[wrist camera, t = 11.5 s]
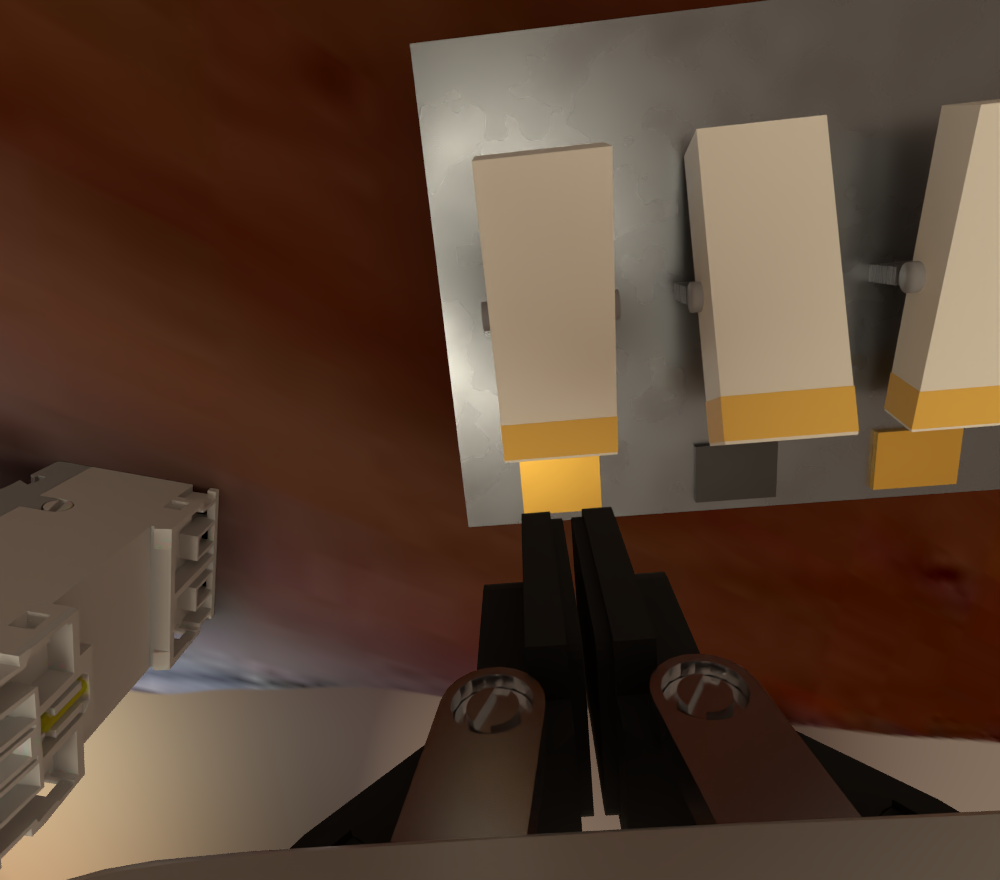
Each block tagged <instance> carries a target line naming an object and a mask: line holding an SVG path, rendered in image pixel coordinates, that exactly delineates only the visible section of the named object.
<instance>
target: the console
mask: <svg viewBox="0 0 1000 880" xmlns="http://www.w3.org/2000/svg"><path fill="white" fill-rule="evenodd" d="M410 49H411V57H412V65H413V74H414V82H415V90H416V98H417V106H418V115H419V123H420V131H421V139H422V148H423V156H424V164H425V172H426V180H427V189H428V197H429V205H430V213H431V221H432V230H433V238H434V246H435V254H436V262H437V271H438V279H439V287H440V295H441V303H442V312H443V320H444V328H445V336H446V345H447V353H448V361H449V369H450V377H451V386H452V394H453V402H454V410H455V418H456V427H457V435H458V443H459V451H460V459H461V468H462V476H463V484H464V492H465V501H466V509H467V517H468V525H469V527H475V526H489V525H503V524H517V523H522V521H521V514H523V513H536V512H549V511H550V515H551V519H557V518H562V520H571V517H582V509H587V508H599V507H612V510H613V512H614V515H615V516H629V515H643V514H657V513H671V512H685V511H699V510H713V509H727V508H741V507H755V506H769V505H783V504H797V503H811V502H825V501H839V500H853V499H867V498H881V497H895V496H909V495H923V494H937V493H951V492H965V491H979V490H993V489H1000V425H996V426H983V427H970V428H958V429H945V430H932V431H919V432H911V431H909V430H908V429H907V428H906V427H904V426H903V425H902V424H901V423H899V422H898V421H897V420H896V419H894V418H893V417H892V416H891V415H890V414H888V413H887V412H886V411H885V408H884V405H885V400H886V394H887V389H888V384H889V378H890V373H891V372H892V367H893V362H894V357H895V351H896V346H897V341H898V335H899V330H900V325H901V320H902V314H903V309H904V304H905V298H906V293H904V292H903V291H902V290H901V288H900V285H899V273H900V270H901V267H902V266H903V264H904V263H906V262H912V261H913V256H914V251H915V245H916V240H917V235H918V229H919V224H920V219H921V214H922V208H923V203H924V198H925V192H926V187H927V182H928V176H929V171H930V166H931V161H932V155H933V150H934V145H935V139H936V134H937V129H938V123H939V118H940V113H941V108H942V105H950V104H959V103H968V102H977V101H987V100H996V99H1000V0H768V1H760V2H751V3H743V4H735V5H727V6H718V7H710V8H702V9H693V10H685V11H677V12H669V13H660V14H652V15H644V16H636V17H627V18H619V19H611V20H603V21H594V22H586V23H578V24H569V25H561V26H553V27H545V28H536V29H528V30H520V31H512V32H503V33H495V34H487V35H479V36H470V37H462V38H454V39H446V40H437V41H429V42H421V43H412V44H410ZM820 115H827V122H828V132H829V142H830V152H831V162H832V173H833V183H834V193H835V203H836V213H837V223H838V233H839V243H840V253H841V264H842V274H843V284H844V294H845V304H846V314H847V324H848V334H849V344H850V355H851V365H852V375H853V385H854V386H855V395H856V405H857V415H858V425H859V431H858V435H846V436H835V437H822V438H809V439H796V440H783V441H770V442H758V443H745V444H732V445H719V446H710V443H709V437H708V426H707V415H706V404H705V402H706V395H705V384H704V373H703V362H702V351H701V340H700V329H699V318H698V312H695V313H690V311H689V308H688V303H687V289H688V285H689V283H690V282H695V273H694V262H693V251H692V240H691V229H690V218H689V207H688V195H687V184H686V173H685V162H684V155H685V153H686V151H687V148H688V146H689V144H690V142H691V140H692V138H693V135H694V133H695V131H696V129H700V128H710V127H719V126H728V125H737V124H746V123H755V122H765V121H774V120H783V119H792V118H801V117H810V116H820ZM600 142H605V143H608V144H610V145H612V149H613V209H614V269H615V289H618V290H619V294H620V304H621V315H620V319H618V320H615V329H616V388H617V416H618V454H614V455H601V456H589V457H576V458H563V459H550V460H537V461H524V462H511V463H505V461H504V452H503V443H502V434H501V420H500V411H499V402H498V393H497V384H496V375H495V366H494V358H493V349H492V340H491V331H486V332H484V329H483V323H482V313H481V302H487V295H486V286H485V277H484V268H483V259H482V250H481V241H480V232H479V224H478V215H477V206H476V197H475V188H474V179H473V170H472V160H473V158H474V157H475V156H481V155H490V154H499V153H508V152H517V151H527V150H536V149H545V148H554V147H563V146H573V145H582V144H591V143H600Z"/></svg>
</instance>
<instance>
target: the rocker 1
mask: <svg viewBox="0 0 1000 880" xmlns="http://www.w3.org/2000/svg"><path fill="white" fill-rule="evenodd" d="M472 170H473V179H474V188H475V197H476V206H477V215H478V224H479V232H480V241H481V250H482V259H483V268H484V277H485V286H486V295H487V302H481V313H482V323H483V329H484V332H486V331H491V340H492V349H493V358H494V366H495V375H496V384H497V393H498V402H499V411H500V420H501V434H502V443H503V452H504V461H505V463H511V462H524V461H537V460H550V459H563V458H576V457H589V456H601V455H614V454H618V416H617V388H616V329H615V320H618V319H620V315H621V304H620V294H619V290H618V289H615V269H614V209H613V149H612V145H610V144H608V143H605V142H600V143H591V144H582V145H573V146H563V147H554V148H545V149H536V150H527V151H517V152H508V153H499V154H490V155H481V156H475V157H474V158H473V160H472Z"/></svg>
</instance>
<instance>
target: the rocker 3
mask: <svg viewBox="0 0 1000 880" xmlns="http://www.w3.org/2000/svg"><path fill="white" fill-rule="evenodd" d="M899 285H900V288H901V290H902V291H903V292H904V293H906V298H905V304H904V309H903V314H902V320H901V325H900V330H899V335H898V341H897V346H896V351H895V357H894V362H893V367H892V372H891V373H890V378H889V384H888V389H887V394H886V400H885V405H884V408H885V411H886V412H887V413H888V414H890V415H891V416H892V417H893V418H894V419H896V420H897V421H898V422H899V423H901V424H902V425H903V426H904V427H906V428H907V429H908V430H909V431H911V432H919V431H932V430H945V429H958V428H970V427H983V426H996V425H1000V99H996V100H987V101H977V102H968V103H959V104H950V105H942V108H941V113H940V118H939V123H938V129H937V134H936V139H935V145H934V150H933V155H932V161H931V166H930V171H929V176H928V182H927V187H926V192H925V198H924V203H923V208H922V214H921V219H920V224H919V229H918V235H917V240H916V245H915V251H914V256H913V261H912V262H906V263H904V264H903V266H902V267H901V270H900V273H899Z"/></svg>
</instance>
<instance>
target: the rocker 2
mask: <svg viewBox="0 0 1000 880" xmlns="http://www.w3.org/2000/svg"><path fill="white" fill-rule="evenodd" d="M684 162H685V173H686V184H687V195H688V207H689V218H690V229H691V240H692V251H693V262H694V273H695V282H690V283H689V285H688V289H687V303H688V308H689V311H690V313H695V312H698V318H699V329H700V340H701V351H702V362H703V373H704V384H705V395H706V402H705V404H706V415H707V426H708V437H709V443H710V446H719V445H732V444H745V443H758V442H770V441H783V440H796V439H809V438H822V437H835V436H846V435H858V431H859V425H858V415H857V405H856V395H855V386H854V385H853V375H852V365H851V355H850V344H849V334H848V324H847V314H846V304H845V294H844V284H843V274H842V264H841V253H840V243H839V233H838V223H837V213H836V203H835V193H834V183H833V173H832V162H831V152H830V142H829V132H828V122H827V115H820V116H810V117H801V118H792V119H783V120H774V121H765V122H755V123H746V124H737V125H728V126H719V127H710V128H700V129H696V131H695V133H694V135H693V138H692V140H691V142H690V144H689V146H688V148H687V151H686V153H685V155H684Z"/></svg>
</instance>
